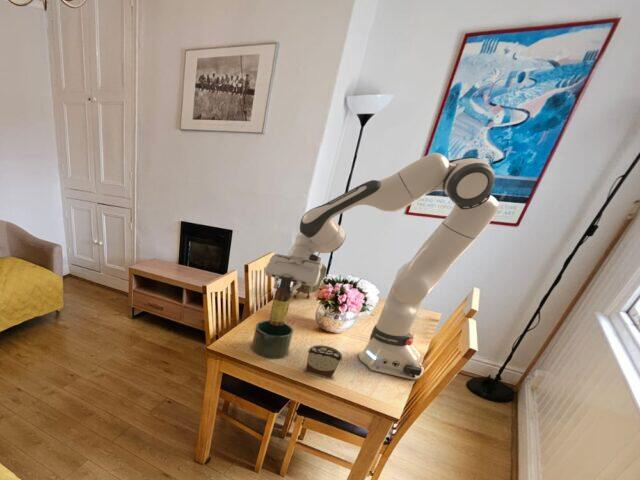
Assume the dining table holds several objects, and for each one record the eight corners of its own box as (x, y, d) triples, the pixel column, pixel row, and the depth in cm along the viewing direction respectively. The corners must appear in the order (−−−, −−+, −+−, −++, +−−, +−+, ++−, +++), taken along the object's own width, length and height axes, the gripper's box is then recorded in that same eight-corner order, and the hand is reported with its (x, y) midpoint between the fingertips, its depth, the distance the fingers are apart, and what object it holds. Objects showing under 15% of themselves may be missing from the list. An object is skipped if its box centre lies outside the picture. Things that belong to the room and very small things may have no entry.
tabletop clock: (305, 291, 218) (317, 245, 203) (319, 296, 212) (333, 249, 198) (289, 297, 211) (300, 250, 197) (303, 303, 205) (317, 255, 191)
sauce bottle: (286, 326, 157) (299, 279, 146) (270, 326, 157) (282, 278, 146) (281, 319, 163) (293, 272, 151) (266, 319, 163) (277, 272, 151)
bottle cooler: (292, 348, 168) (298, 327, 162) (279, 362, 158) (285, 340, 153) (260, 337, 175) (264, 317, 169) (245, 350, 166) (250, 329, 160)
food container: (337, 372, 152) (345, 349, 147) (335, 379, 148) (343, 357, 142) (304, 363, 158) (310, 341, 152) (301, 370, 153) (307, 348, 147)
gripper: (272, 248, 154) (256, 279, 154) (325, 259, 144) (309, 292, 143) (274, 257, 160) (259, 287, 159) (326, 268, 149) (310, 300, 149)
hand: (283, 290), depth 151 cm, fingers closed on sauce bottle, 5 cm apart
